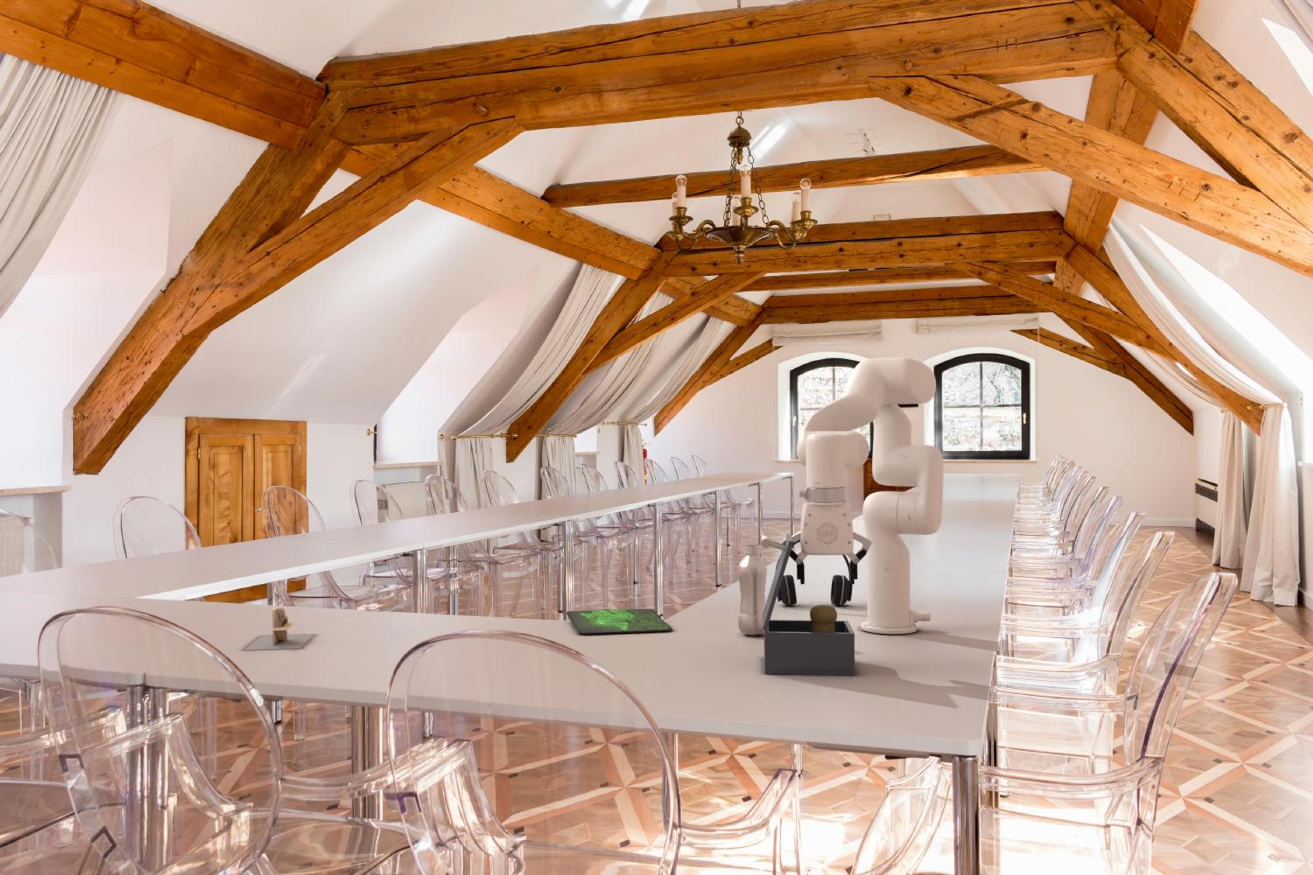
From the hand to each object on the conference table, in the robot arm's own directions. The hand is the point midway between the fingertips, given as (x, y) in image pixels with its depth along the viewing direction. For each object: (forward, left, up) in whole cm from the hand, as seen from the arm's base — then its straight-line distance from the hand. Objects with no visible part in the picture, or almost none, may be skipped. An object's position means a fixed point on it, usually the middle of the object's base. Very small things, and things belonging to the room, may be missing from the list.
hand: (827, 583), depth 205 cm
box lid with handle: (+10, +1, +1) cm, 10 cm away
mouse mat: (+35, -50, -16) cm, 63 cm away
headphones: (-19, -66, -16) cm, 71 cm away
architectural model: (+110, -41, -16) cm, 118 cm away
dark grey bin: (+5, +3, -16) cm, 17 cm away
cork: (+2, +4, -15) cm, 15 cm away
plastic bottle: (+7, -30, -16) cm, 35 cm away
